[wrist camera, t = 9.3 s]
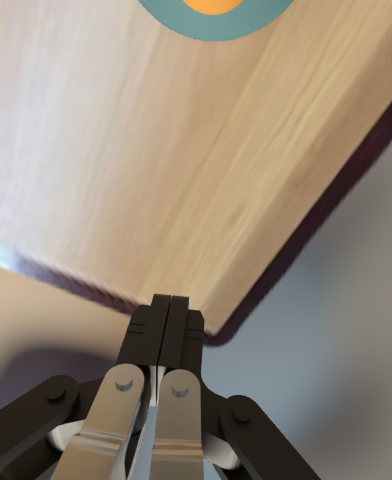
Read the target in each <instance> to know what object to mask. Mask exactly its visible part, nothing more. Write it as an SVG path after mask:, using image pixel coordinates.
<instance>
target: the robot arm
mask: <svg viewBox="0 0 392 480" xmlns="http://www.w3.org/2000/svg"><path fill="white" fill-rule="evenodd" d="M188 307H189V297H183V296H174V295H173V296H172V299H171V295H163V294H154V296H153V299H152V303H151V306H149V305H140V306H139V307H138V308H137V309H136V310H135V311H134V312H133V313H132V316H131V319H130V322H129V326H128V328H127V332H126V335H125V338H124V340H123V343H122V346H121V349H120V352H119V355H118V358H117V361H116V364H115V366H114V367H113V368H112V369H110V370H109V371H108V372H107V374H106V375H105V376H104V377H102V378H100V379H97V380H94V381H89V382H84V383H79V384H77V382H76V380H75V379H74V378H72V377H70V376H67V375H57V376H53V377H51V378H49V379H47V380H45V381H44V382H42V383H41V384H39V385H37V386H36V387H34V388H33V389H32V390H30V391H28V392H27V393H25V394H24V395H22V396H20V397H19V398H18V399H16V400H14V401H13V402H11V403H10V404H8V405H7V406H5V407H4V408H2V409H0V480H47V479H48V478H49V477H50V476H51V475H52V478H51V480H130V478H131V475H132V472H133V468H134V464H135V461H136V457H137V454H138V450H139V446H140V443H141V439H142V436H143V432H144V429H145V422H146V419H147V414H148V409H149V406H153V407H155V406H156V401H157V397H158V409H157V419H156V428H155V438H154V446H153V450H152V457H151V467H150V477H149V480H204V469H203V468H204V467H203V458H204V459H206V460H208V461H210V462H212V463H213V465H214V468H215V470H216V471H217V473H218V474H219V476H220V478H221V479H222V480H321V479H320V478H319V477H318V476H317V474H316V473H315V472H314V471H313V469H312V468H311V467H310V466H309V465H308V464H307V462H306V461H305V460H304V459H303V458H302V457H301V455H300V454H299V453H298V452H297V451H296V449H295V448H294V447H293V446H292V445H291V443H290V442H289V441H288V440H287V439H286V438H285V436H284V435H283V434H282V433H281V432H280V430H279V429H278V428H277V427H276V426H275V424H274V423H273V422H272V421H271V420H270V419H269V418H268V416H267V415H266V414H265V413H264V411H263V410H262V409H261V408H260V407H259V406H258V404H257V403H256V402H255V401H253V400H252V399H251V398H249V397H246V396H243V395H234V396H231V397H229V398H227V399H226V398H224V397H222V396H220V395H217V394H215V393H213V392H212V391H210V390H209V389H208V388H207V387H206V385H205V384H204V382H203V380H202V378H201V363H202V349H203V334H204V318H203V316H202V314H201V311H199V310H189V309H188Z"/></svg>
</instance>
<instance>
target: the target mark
mask: <svg viewBox="0 0 392 480" xmlns="http://www.w3.org/2000/svg"><path fill="white" fill-rule="evenodd" d="M293 1H294V0H243V1H242V2H241V3H240V4H239V5H238V6H237V7H235V8H234V9H232V10H230V11H228V12H226V13H223V14H218V15H208V14H203V13H200V12H198V11H196V10H194V9H192V8H191V7H189V6H188V5H187V4H186V3H185V2H184V1H183V0H139V2H140V3H141V4H142V5H143V6H144V7H145V8H146V10H147V11H148V12H149V13H150V14H151V15H153V16H154V17H155V18H156V19H157V20H158V21H159V22H161V23H162V24H164V25H165V26H167V27H168V28H170V29H171V30H173V31H176V32H178V33H180V34H182V35H184V36H187V37H191V38H194V39H199V40H205V41H224V40H231V39H235V38H239V37H242V36H245V35H248V34H250V33H252V32H254V31H256V30H259V29H260V28H262V27H263V26H265V25H266V24H268V23H270V22H271V21H272V20H274V19H275V18H276V17H277V16H278V15H280V14H281V13H282V12H283V11H284V10H285V9H286V8H287V7H288V6H289V5H290V4H291V3H292V2H293Z"/></svg>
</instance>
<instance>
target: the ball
mask: <svg viewBox="0 0 392 480" xmlns="http://www.w3.org/2000/svg"><path fill="white" fill-rule="evenodd" d="M183 1H184V2H185V3H186V4H187V5H188V6H189V7H191V8H192V9H194V10H196V11H198V12H200V13H203V14H208V15H218V14H223V13H226V12H228V11H230V10H232V9H234V8H235V7H237V6H238V5H239V4H240V3H241V2H242V1H243V0H183Z"/></svg>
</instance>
